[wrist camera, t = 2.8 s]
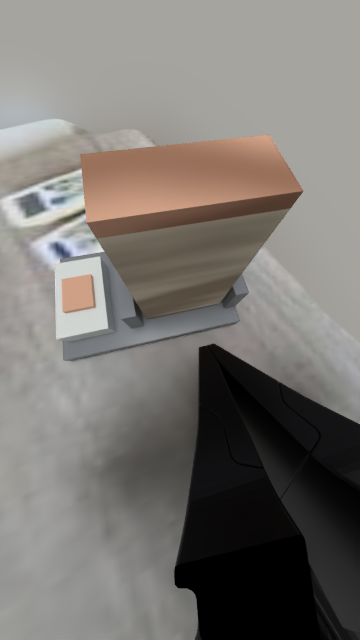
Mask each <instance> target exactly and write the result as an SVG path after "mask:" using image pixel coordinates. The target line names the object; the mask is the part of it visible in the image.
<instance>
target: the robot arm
mask: <svg viewBox="0 0 360 640" xmlns="http://www.w3.org/2000/svg"><path fill="white" fill-rule="evenodd" d="M174 578H175V585H176V586H177V587H178V588H188V589H190V590H192V591H193V592H194V594H195V595H196V599H197V610H198V629H197V634H196V637H195V640H360V424H358V423H356V422H354V421H352V420H350V419H348V418H346V417H344V416H342V415H340V414H338V413H336V412H334V411H332V410H330V409H328V408H326V407H324V406H322V405H320V404H318V403H316V402H314V401H313V400H311V399H309V398H307V397H305V396H303V395H301V394H300V393H298V392H296V391H294V390H292V389H291V388H289V387H287V386H285V385H284V384H282V383H280V382H279V383H278V381H277V380H275V379H273V378H272V377H270V376H268V375H267V374H265V373H263V372H262V371H260V370H258V369H256V368H255V367H253V366H251V365H250V364H248V363H246V362H245V361H243V360H241V359H239V358H238V357H236V356H234V355H233V354H231V353H229V352H228V351H226V350H224V349H222V348H221V347H219V346H217V345H216V344H211V345H207V346H202V347H199V383H198V428H197V438H196V447H195V454H194V461H193V469H192V476H191V483H190V490H189V497H188V504H187V511H186V516H185V522H184V527H183V532H182V537H181V542H180V547H179V551H178V556H177V560H176V565H175V570H174Z"/></svg>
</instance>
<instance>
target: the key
mask: <svg viewBox="0 0 360 640" xmlns="http://www.w3.org/2000/svg"><path fill="white" fill-rule="evenodd" d="M80 155H81V166H82V177H83V188H84V199H85V210H86V221H87V224H88V226H89V227H90V229H91V230H92V232H93V234H94V235H95V237H96V238H97V240H98V242H99V243H100V245H101V246H102V248H103V250H104V251H105V253H106V254H107V256H108V258H109V259H110V261H111V262H112V264H113V266H114V267H115V269H116V271H117V272H118V274H119V275H120V277H121V279H122V280H123V282H124V283H125V285H126V287H127V288H128V290H129V291H130V293H131V295H132V296H133V298H134V299H135V301H136V303H137V304H138V306H139V307H140V309H141V311H142V312H143V314H144V316H145V317H146V319H148V318H153V317H158V316H163V315H167V314H172V313H177V312H181V311H186V310H191V309H196V308H200V307H205V306H210V305H215V304H219V303H220V302H221V301H222V299H223V298H224V297H225V295H226V294H227V293H228V291H229V290H230V289H231V287H232V286H233V285H234V283H235V282H236V281H237V279H238V278H239V277H240V275H241V274H242V273H243V271H244V270H245V269H246V267H247V266H248V265H249V263H250V262H251V261H252V259H253V258H254V257H255V255H256V254H257V253H258V251H259V250H260V249H261V247H262V246H263V245H264V243H265V242H266V240H267V239H268V238H269V236H270V235H271V234H272V232H273V231H274V230H275V228H276V227H277V226H278V224H279V223H280V222H281V220H282V219H283V218H284V216H285V215H286V214H287V212H288V211H289V210H290V208H291V207H292V206H293V204H294V203H295V202H296V200H297V199H298V198H299V196H300V195H301V194H302V192H303V190H302V188H301V186H300V185H299V183H298V181H297V180H296V178H295V176H294V175H293V173H292V171H291V170H290V168H289V167H288V165H287V163H286V162H285V160H284V158H283V157H282V155H281V153H280V152H279V150H278V148H277V147H276V145H275V144H274V142H273V140H272V139H271V137H270V135H262V136H253V137H243V138H234V139H225V140H214V141H204V142H196V143H185V144H176V145H166V146H156V147H147V148H137V149H128V150H118V151H108V152H99V153H89V154H80Z"/></svg>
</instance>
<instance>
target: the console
mask: <svg viewBox="0 0 360 640" xmlns="http://www.w3.org/2000/svg"><path fill="white" fill-rule="evenodd" d="M248 293H249V291H248V288H247V286H246V283H245V280H244V278H243V275H242V274H241V275H240V277H239V278H238V279H237V281H236V282H235V283H234V285H233V286H232V287H231V289H230V290H229V291H228V293H227V294H226V295H225V297H224V298H223V299H222V301H221V302H220V303H219V304H215V305H210V306H205V307H200V308H196V309H191V310H186V311H181V312H177V313H172V314H167V315H163V316H158V317H153V318H148V319H146V317H145V316H144V314H143V312H142V311H141V309H140V307H139V306H138V304H137V303H136V301H135V299H134V298H133V296H132V295H131V293H130V291H129V290H128V288H127V287H126V285H125V283H124V282H123V280H122V279H121V277H120V275H119V274H118V272H117V271H116V269H115V267H114V266H113V264H112V262H111V261H110V259H109V258H108V256H107V254H106V253H105V252H101V253H95V254H89V255H83V256H77V257H70V258H64V259H60V263H58V264H55V301H56V339H57V340H62V341H63V360H65V361H72V360H76V359H81V358H85V357H90V356H94V355H98V354H103V353H107V352H112V351H116V350H120V349H125V348H129V347H134V346H138V345H143V344H147V343H151V342H156V341H160V340H165V339H169V338H173V337H178V336H182V335H187V334H191V333H195V332H200V331H204V330H209V329H213V328H218V327H222V326H226V325H231V324H235V323H237V322H239V321H240V320H239V317H238V314H237V311H236V308H235V306H236V305H237V304H238V303H239V302H240V301H241V300H242V299H243V298H244V297H245V296H246V295H247V294H248Z"/></svg>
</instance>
